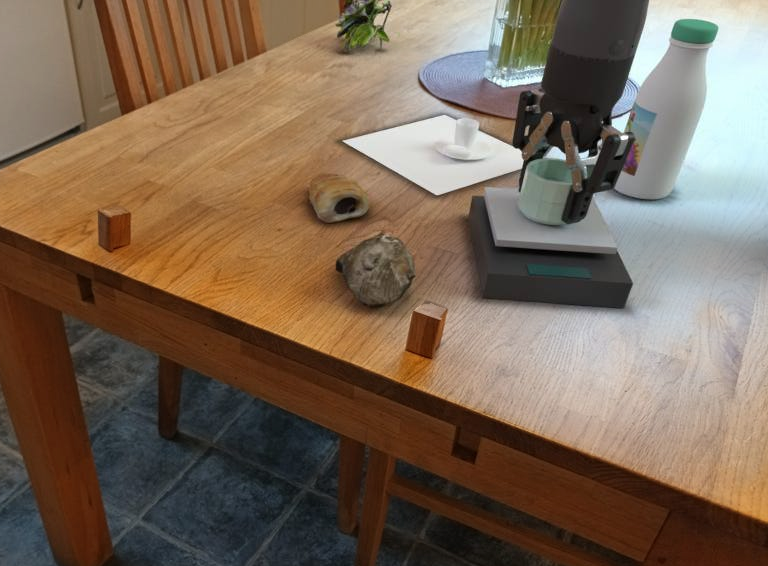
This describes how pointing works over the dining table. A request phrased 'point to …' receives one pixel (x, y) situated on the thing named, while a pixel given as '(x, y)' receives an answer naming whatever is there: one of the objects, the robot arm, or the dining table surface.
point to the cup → (546, 190)
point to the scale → (544, 255)
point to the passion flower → (362, 23)
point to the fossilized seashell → (377, 270)
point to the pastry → (337, 197)
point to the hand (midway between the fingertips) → (548, 206)
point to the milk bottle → (667, 112)
